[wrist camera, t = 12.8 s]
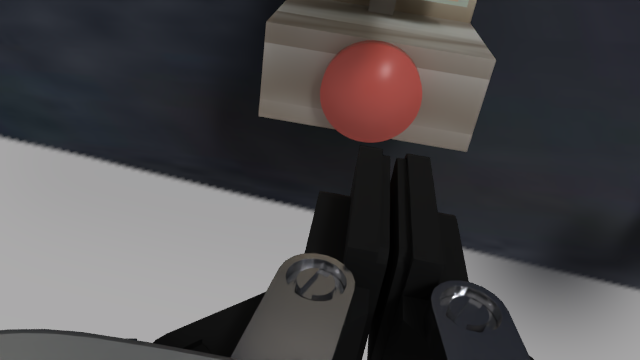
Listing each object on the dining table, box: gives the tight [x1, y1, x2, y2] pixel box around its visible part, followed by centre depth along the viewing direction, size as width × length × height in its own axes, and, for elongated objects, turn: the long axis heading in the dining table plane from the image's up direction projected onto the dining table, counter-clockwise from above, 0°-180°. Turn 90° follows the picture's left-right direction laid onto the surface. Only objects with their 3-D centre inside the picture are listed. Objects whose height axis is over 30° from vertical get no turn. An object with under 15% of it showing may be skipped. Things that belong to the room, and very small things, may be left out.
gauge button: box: [320, 40, 422, 143], centre depth 21 cm, size 4×4×3 cm
